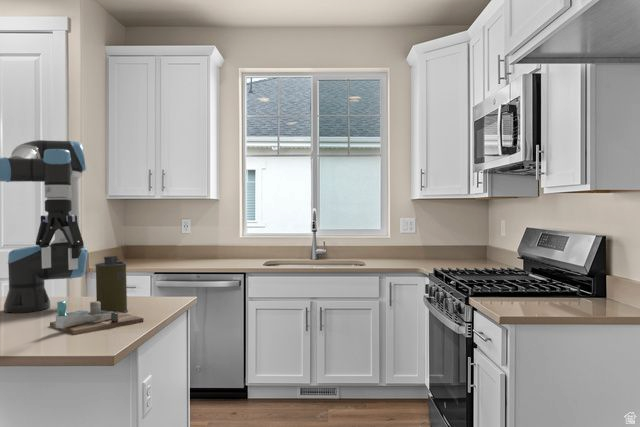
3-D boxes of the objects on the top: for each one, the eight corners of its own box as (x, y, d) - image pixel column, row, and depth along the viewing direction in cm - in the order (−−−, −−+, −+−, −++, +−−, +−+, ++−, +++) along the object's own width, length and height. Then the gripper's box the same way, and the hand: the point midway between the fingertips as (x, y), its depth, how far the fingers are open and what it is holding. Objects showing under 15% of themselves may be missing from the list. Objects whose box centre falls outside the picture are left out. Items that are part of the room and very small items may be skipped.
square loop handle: (97, 316, 174) (96, 293, 174) (114, 317, 171) (114, 294, 171) (49, 326, 159) (49, 301, 159) (67, 329, 156) (67, 303, 155)
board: (49, 326, 167) (49, 303, 167) (116, 314, 184) (116, 294, 184) (74, 334, 155) (74, 310, 155) (143, 321, 172) (143, 299, 172)
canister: (116, 315, 182) (115, 257, 182) (89, 314, 185) (88, 257, 184) (134, 309, 193) (132, 254, 193) (108, 309, 195) (107, 254, 195)
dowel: (110, 326, 166) (109, 313, 166) (116, 324, 167) (116, 312, 167) (113, 326, 164) (112, 314, 164) (119, 325, 166) (119, 313, 166)
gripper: (21, 199, 167) (23, 268, 168) (74, 198, 157) (75, 271, 157) (43, 200, 174) (45, 266, 174) (95, 198, 163) (96, 268, 164)
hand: (59, 268), depth 166 cm, fingers open, 12 cm apart
